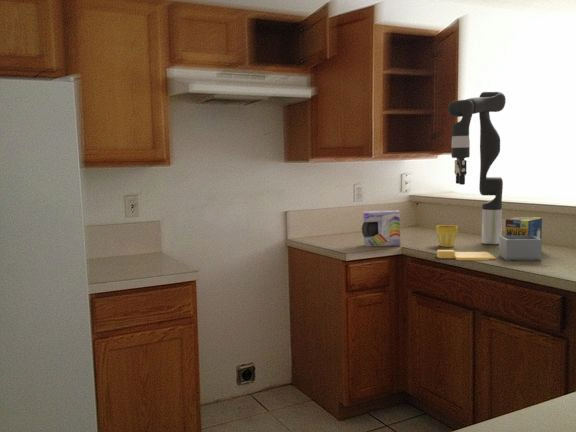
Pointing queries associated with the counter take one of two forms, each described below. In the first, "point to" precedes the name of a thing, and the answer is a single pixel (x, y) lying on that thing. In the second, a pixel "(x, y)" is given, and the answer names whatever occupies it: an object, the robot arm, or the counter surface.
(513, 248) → the tub
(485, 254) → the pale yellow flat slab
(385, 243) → the cake pan box
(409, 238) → the counter surface
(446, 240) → the plant pot
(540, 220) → the protein box
